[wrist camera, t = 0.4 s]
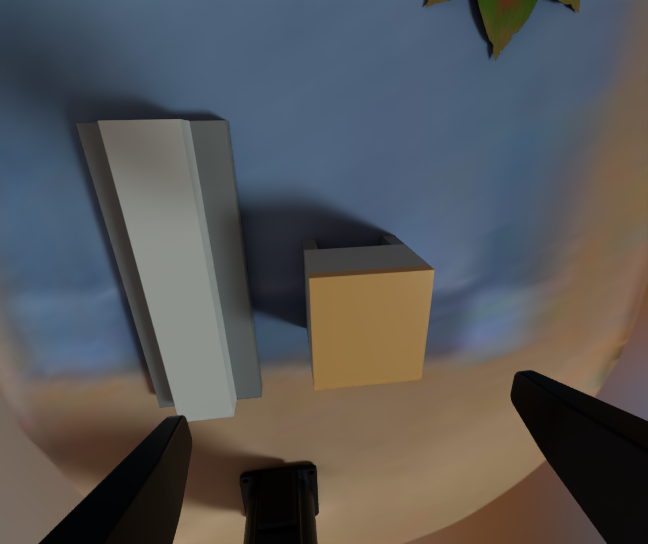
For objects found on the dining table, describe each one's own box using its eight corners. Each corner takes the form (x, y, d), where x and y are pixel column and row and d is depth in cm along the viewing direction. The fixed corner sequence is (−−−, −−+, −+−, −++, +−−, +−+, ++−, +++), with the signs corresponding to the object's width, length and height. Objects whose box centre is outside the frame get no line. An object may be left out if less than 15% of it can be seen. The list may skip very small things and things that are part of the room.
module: (388, 321, 23) (421, 379, 17) (306, 328, 22) (314, 390, 17) (393, 234, 20) (434, 269, 15) (302, 239, 20) (309, 278, 14)
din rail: (262, 387, 24) (260, 413, 21) (165, 396, 23) (151, 425, 21) (228, 121, 17) (220, 118, 14) (87, 123, 16) (54, 121, 14)
